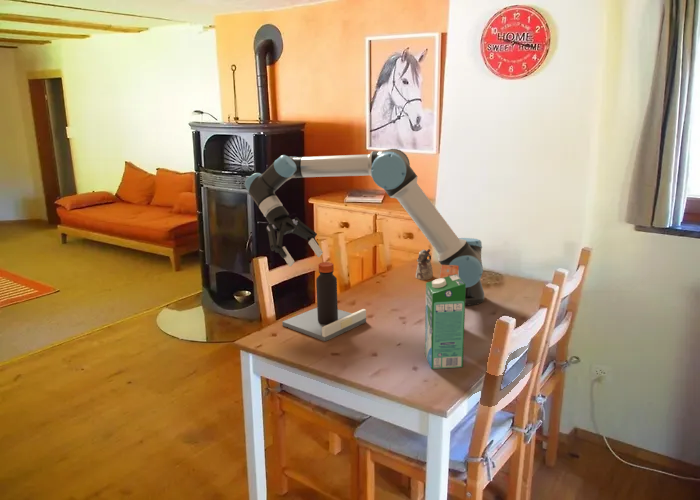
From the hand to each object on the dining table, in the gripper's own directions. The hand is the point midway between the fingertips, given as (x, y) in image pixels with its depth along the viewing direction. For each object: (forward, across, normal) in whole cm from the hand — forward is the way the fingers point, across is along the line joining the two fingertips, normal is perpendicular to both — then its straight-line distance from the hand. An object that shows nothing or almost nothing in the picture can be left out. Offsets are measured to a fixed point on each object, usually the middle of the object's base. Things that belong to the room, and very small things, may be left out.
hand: (306, 259), depth 194 cm
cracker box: (+47, -18, +17) cm, 53 cm away
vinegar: (+22, +2, -6) cm, 22 cm away
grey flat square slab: (+21, +2, -8) cm, 23 cm away
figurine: (+20, -60, -10) cm, 64 cm away
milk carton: (+54, 0, +24) cm, 59 cm away
